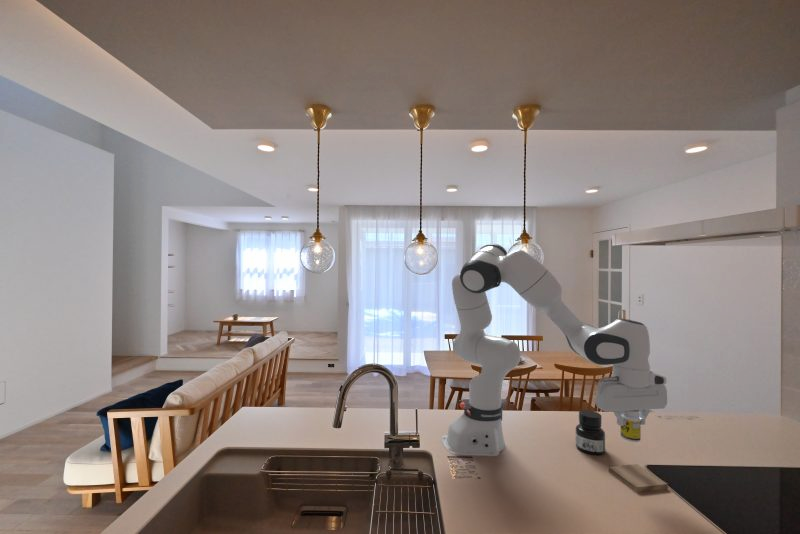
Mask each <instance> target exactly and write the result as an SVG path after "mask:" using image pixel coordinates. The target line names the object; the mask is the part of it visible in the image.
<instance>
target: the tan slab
mask: <svg viewBox="0 0 800 534" xmlns="http://www.w3.org/2000/svg"><path fill="white" fill-rule="evenodd" d="M608 473H610V475H612V476H614V477H615V478H616V479H617V480H619V481H620V482H622V483H623V484H624V485H626V486H627V487H628V488H630V489H631V490H632V491H634V492H635V493H636V494H639V493H647V492H655V491H656V492H657V491H665V490H669V483H667V482H666V481H664V480H662V479H661V478H660V477H658V476H656V475H655V474H653V473H652V472H650V471H649V470H647V469H645V468H644V467H642V466H641V465H640V464H625V465H623V464H622V465H615V466H614V465H613V466H608Z"/></svg>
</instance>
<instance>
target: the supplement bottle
mask: <svg viewBox="0 0 800 534" xmlns="http://www.w3.org/2000/svg"><path fill="white" fill-rule="evenodd" d="M639 413H640V410H631V411H623V414H621V415H622V417H623V419H625V420H626V426H620V437H621V438H622V439H624V440H625V441H628V442H632V443H638V442H641V434H642V433H641V430H642V429H641V426H642V425H641V420H640V417H639Z"/></svg>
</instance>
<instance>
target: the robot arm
mask: <svg viewBox="0 0 800 534" xmlns="http://www.w3.org/2000/svg"><path fill="white" fill-rule="evenodd" d="M501 283H505V284H506V285H508V286H510V287H511V288H512V289H513V290H514V291H515V292H516V293H517V294H518V295H519V296H520V298H522V299H523V300H524V301H525V302H527V303H528V304H530V306H532V307H533V308H535V309H537V310H539V311H540V312H542V313H544V314H545V315H546V316H547V317H548V318H549V319H550V320H551V322H553V323H554V324H555V325H556V326H557V327H558V329H560V330H561V332H562V333H563V334H564V336H565V338H566V341H567V343H568V347H569V348H570V349H571V350H572V351H573V352H574V353H575V354H577V355H579V356H581V357H583V358H584V359H586V360H588V361H589V362H591V363H593V364H596V365H600V366H608V365H612V376H609V377H608V376H603V377H602V378H600V379H599V380H598V381H597V388H596V393H595V405H596V407H597V409H600V410H601V411H603V412H605V413H612V412H613V415H614V416H615V417H616V424H617V425H618V426H620V427H621V426H626V420H625V419H623V417H622V415H621V414H623V411H631V410H639V417H640V420H641V426H642V425H646V420H647V417H648V416H649V413H650V410H662V409H665V408H666V407H667V405H668V389H667V386H666V384H667V382H668V381H667V377H666V376H663V375H661V374H659V373H655V372H654V371H652V370H651V366H650V363H649V356H650V353H651V351H650V350H651V348H650V346H651V345H650V336H649V330H648V327H647V326H646V325H645V324H644V323H642V322H639V321H636V320H633V319H632V320H631V319H626V318H616V319H615V320H613V322H611V323H608V324H607V325H604V326H602V327H599V328H596V327H594V326H593V325H590V324H588V323H585V322H583V321H582V320H581V319H579V318H578V317H577V316H576V314H575V313H574V312H572V310H571V309H570V308H569V307H568V306H567V305H566V304H565V303H564V301H563V299H562V293H563V290H562V286H561V284H560V283H559V281H558V280H557V278H556V277H555V275H553V273H552V272H551V271H550V270H549V269H547V267H545V265H543V264H542V262H540V261H539V260H537V259H536V258H535V257H534V256H532V255H531V254H529V253H528V252H526V251H525V250H522V249H515V250H512V251H509V252H507V250H506V249H505V247H503V246H502V245H500V244H497V243H488V244H485V245H483V246H482V247H479V249H478V250H477V251H475V252H474V253H473V254H472V255H471V257H469V259H468V260H467V262H465V263H464V264H463V266H462V267H461V270H460V272H459V273H457V274H456V275H455V276H454V277H453V279H452V280H451V290H452V296H453V301H454V304H455V308H456V311H457V315H458V319H459V323H460V324H459V325H460V331H459V333H458V334H457V335H456V336H455V338H454V340H453V344H452V345H453V346H452V349H453V350H452V351H453V352H454V355H455V356H456V357H457V358H459V359H460V360H463V361H465V362H467V363H471V364H474V365H479V366H480V367H481V371H480V374H477V375H475V376H474V377H472V379H470V382H469V385H468V387H469V391H468V392H469V393H468V399H469V401H468V402H467V403H465V402H463V401H462V402H460V403H459V407H460V408H461V410H463V413H462V414H461V415H460V416H459V417H457V418H456V419H455V420H453V421H452V422H451V423H449V425H448V428H447V429H448V430H447V434H443V435H442V437H441V440H440V441H441V443H442V446H443V447H444V448H445V449H446V451H448V452H449V453H451V455H452V454H453V455H457V456H483V457H484V456H485V457H487V456H488V457H498V456H499V455H500V453H501V451H503V450H504V449H505V448H506V443H505V442H506V441H505V438H504V434H503V426H502V424H503V423H502V421H503V406H502V389H503V387H502V386H503V383H504V380H505V378H506V377H507V375H508V373H509V372H511V371H513V370H515V368H517V366H519V363H520V360H521V350H520V346H519V345H518V344H517V343H516V342H514V341H512V340H510V339H508V338H505V337H501V336H494V335H489V334H486V333H485V329H486V328H487V327H489V326H490V325H491V323H492V320H493V315H492V311H491V307H490V303H489V300H488V296H487V293H486V292H488V291H489V290H492V289H495V288H498V287H500V286H501Z"/></svg>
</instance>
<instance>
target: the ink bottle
mask: <svg viewBox="0 0 800 534" xmlns="http://www.w3.org/2000/svg"><path fill="white" fill-rule="evenodd" d="M575 446H576V448H577V449H578V450H579V451H582V452H583V453H587V454H590V455H594V456H600V455H601V456H602V455H603V454H604V453H606V433H605V431H604V429H603V428H602V414H601V413H599V412H597V411H594V410H590V409H589V410H588V409H581V410H579V412H578V424H577V425H576V426H575Z"/></svg>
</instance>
